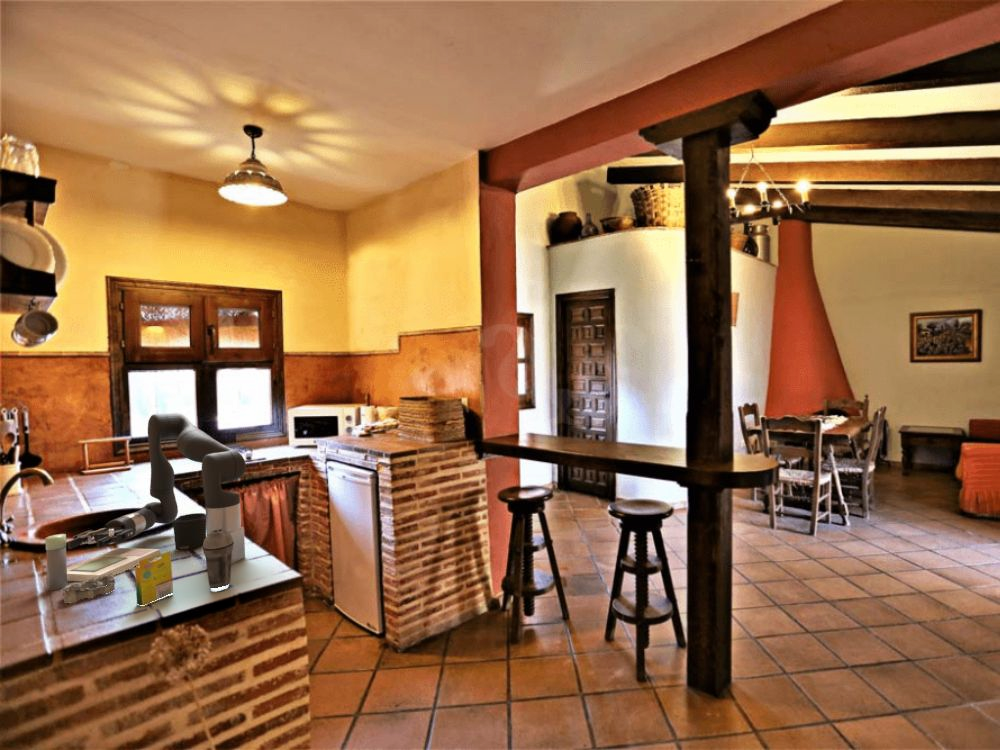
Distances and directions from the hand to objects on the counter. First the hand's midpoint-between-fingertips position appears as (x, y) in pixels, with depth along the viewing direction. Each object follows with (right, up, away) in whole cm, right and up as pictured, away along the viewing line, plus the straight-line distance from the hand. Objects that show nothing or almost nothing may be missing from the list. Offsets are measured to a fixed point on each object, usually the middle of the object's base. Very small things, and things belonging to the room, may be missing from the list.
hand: (83, 545), depth 145 cm
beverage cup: (+47, -7, -13) cm, 50 cm away
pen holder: (+19, -8, +20) cm, 29 cm away
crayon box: (+34, -8, -19) cm, 40 cm away
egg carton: (+13, -9, -14) cm, 21 cm away
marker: (0, -9, -9) cm, 12 cm away
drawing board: (+4, -8, +5) cm, 10 cm away
